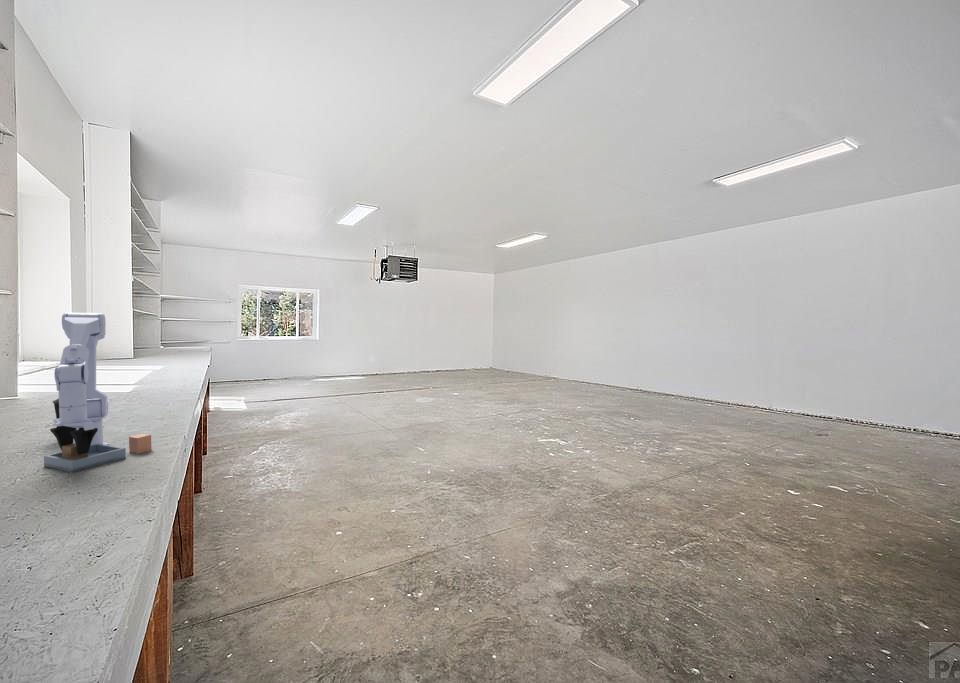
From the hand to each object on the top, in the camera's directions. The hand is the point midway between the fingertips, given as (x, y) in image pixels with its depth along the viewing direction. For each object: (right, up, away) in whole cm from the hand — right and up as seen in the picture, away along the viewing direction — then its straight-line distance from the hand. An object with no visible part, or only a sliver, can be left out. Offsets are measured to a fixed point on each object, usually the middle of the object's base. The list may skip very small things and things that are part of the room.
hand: (75, 452), depth 122 cm
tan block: (0, -3, 0) cm, 3 cm away
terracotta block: (+8, -3, +13) cm, 16 cm away
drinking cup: (-27, -2, +26) cm, 38 cm away
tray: (+1, -4, +3) cm, 5 cm away
